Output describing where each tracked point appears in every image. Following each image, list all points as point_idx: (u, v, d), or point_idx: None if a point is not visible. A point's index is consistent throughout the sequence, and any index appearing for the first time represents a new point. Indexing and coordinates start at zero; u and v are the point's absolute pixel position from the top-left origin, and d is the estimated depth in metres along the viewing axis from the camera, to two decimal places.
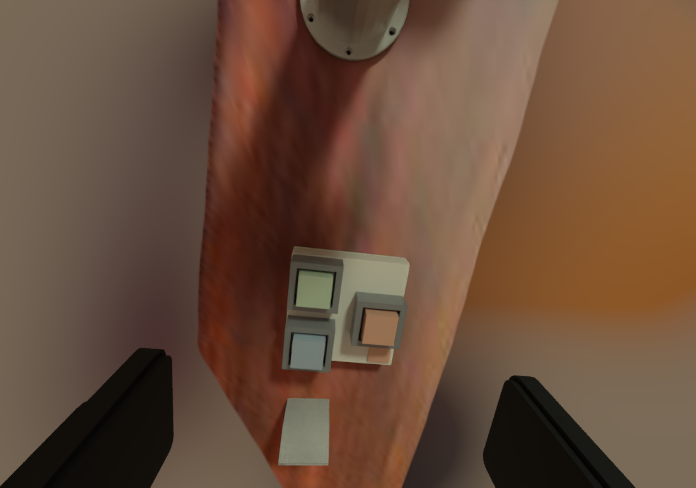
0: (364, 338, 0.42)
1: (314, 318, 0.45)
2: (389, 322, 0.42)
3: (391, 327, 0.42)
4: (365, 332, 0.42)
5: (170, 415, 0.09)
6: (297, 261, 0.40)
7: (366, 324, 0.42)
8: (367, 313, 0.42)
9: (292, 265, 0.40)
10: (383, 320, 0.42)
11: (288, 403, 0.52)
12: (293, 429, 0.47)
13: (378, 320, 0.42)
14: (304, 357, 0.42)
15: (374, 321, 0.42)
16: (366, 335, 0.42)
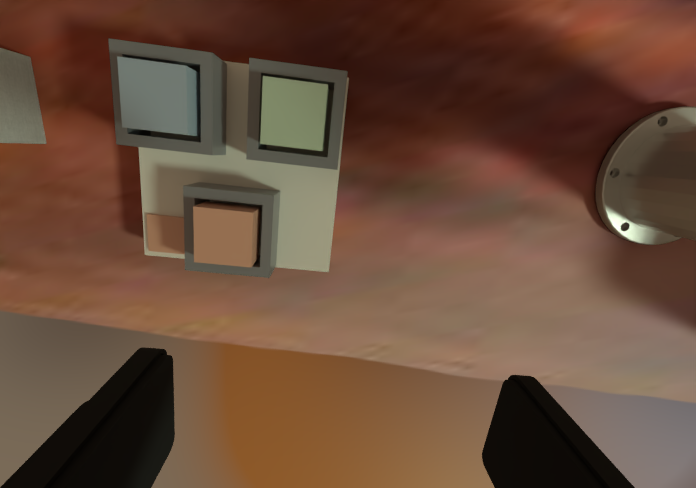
0: (204, 211, 0.23)
1: (225, 116, 0.25)
2: (240, 252, 0.24)
3: (231, 256, 0.24)
4: (217, 211, 0.23)
5: (171, 415, 0.09)
6: (345, 84, 0.23)
7: (233, 212, 0.23)
8: (254, 213, 0.24)
9: (339, 74, 0.22)
10: (243, 242, 0.24)
11: (17, 56, 0.25)
12: None
13: (243, 233, 0.24)
14: (146, 89, 0.21)
15: (240, 226, 0.23)
16: (211, 213, 0.23)
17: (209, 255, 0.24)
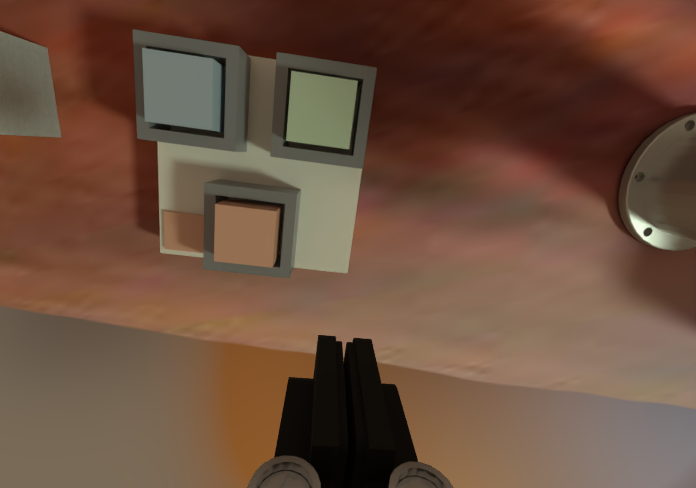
0: (226, 208, 0.22)
1: (247, 112, 0.24)
2: (262, 252, 0.23)
3: (252, 255, 0.23)
4: (239, 209, 0.23)
5: None
6: None
7: (256, 211, 0.23)
8: (277, 212, 0.23)
9: (369, 70, 0.21)
10: (265, 241, 0.23)
11: (34, 47, 0.25)
12: None
13: (265, 232, 0.23)
14: (171, 82, 0.20)
15: (263, 225, 0.23)
16: (233, 211, 0.23)
17: (230, 254, 0.23)
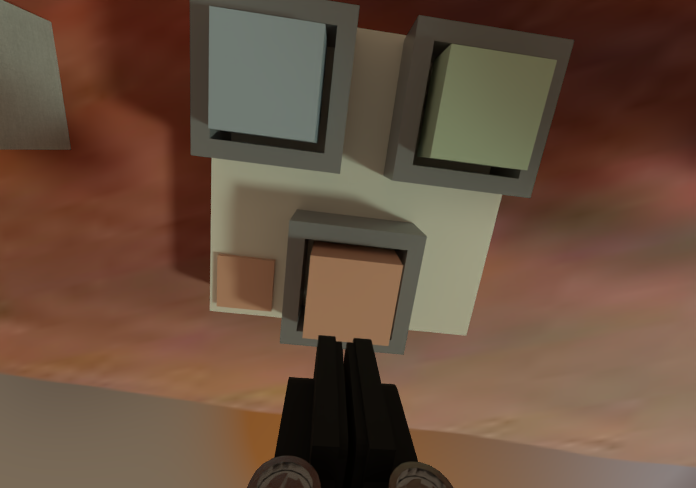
0: (328, 262, 0.15)
1: None
2: (375, 324, 0.15)
3: (360, 330, 0.16)
4: (347, 263, 0.15)
5: None
6: None
7: (372, 265, 0.15)
8: None
9: (561, 44, 0.13)
10: (382, 309, 0.15)
11: (33, 19, 0.17)
12: None
13: (383, 296, 0.15)
14: (254, 64, 0.12)
15: (380, 286, 0.15)
16: (338, 266, 0.15)
17: (327, 328, 0.15)
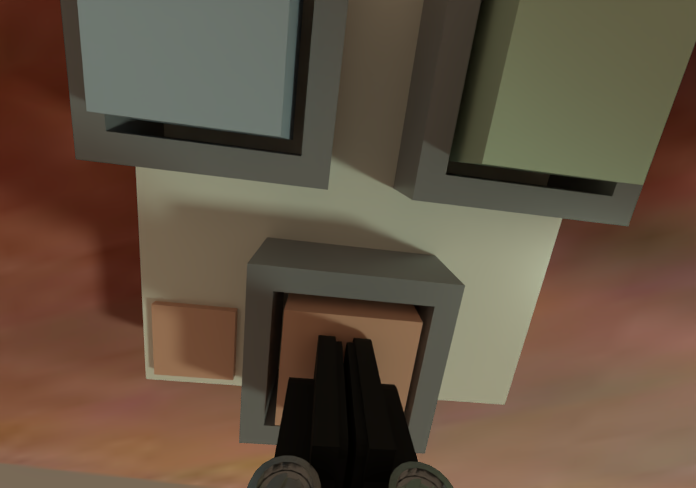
0: (310, 319, 0.10)
1: (338, 93, 0.11)
2: None
3: None
4: (339, 321, 0.10)
5: None
6: None
7: (377, 323, 0.10)
8: None
9: None
10: (391, 383, 0.10)
11: None
12: None
13: (393, 366, 0.10)
14: None
15: (389, 352, 0.10)
16: (325, 325, 0.10)
17: None
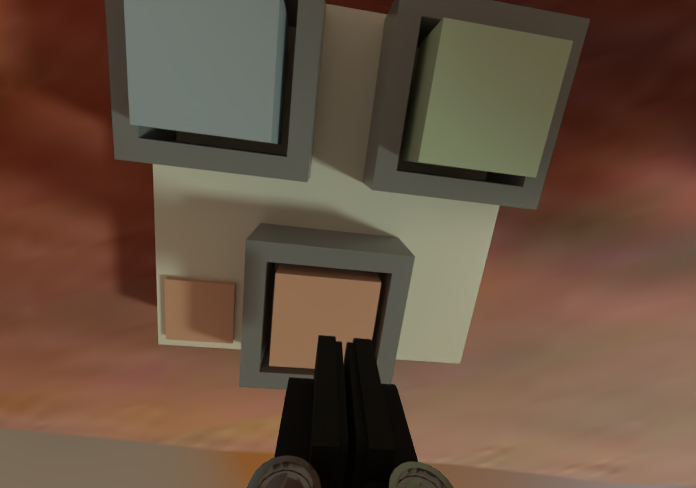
0: (296, 280, 0.13)
1: (316, 107, 0.14)
2: None
3: None
4: (317, 281, 0.13)
5: None
6: None
7: (346, 283, 0.13)
8: None
9: (574, 24, 0.11)
10: (359, 331, 0.14)
11: None
12: None
13: (359, 317, 0.13)
14: (188, 40, 0.09)
15: (356, 306, 0.13)
16: (307, 285, 0.13)
17: (297, 354, 0.14)
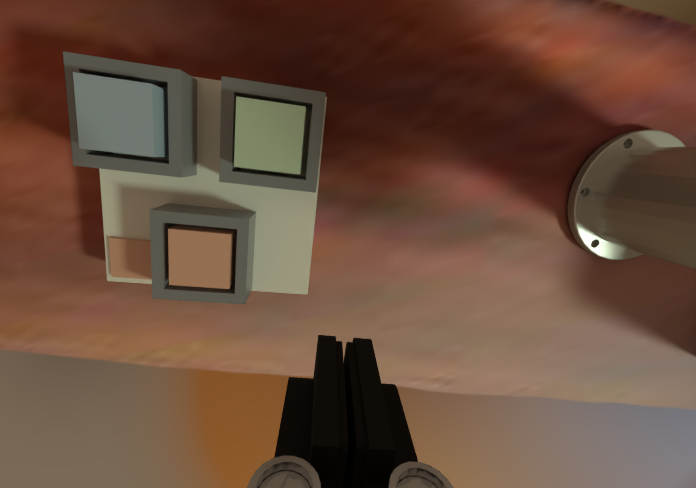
0: (180, 233, 0.23)
1: (195, 134, 0.24)
2: (218, 274, 0.24)
3: (208, 278, 0.24)
4: (193, 233, 0.23)
5: None
6: None
7: (210, 234, 0.23)
8: (232, 235, 0.23)
9: (317, 95, 0.21)
10: (221, 263, 0.23)
11: None
12: None
13: (220, 255, 0.23)
14: (107, 108, 0.19)
15: (218, 248, 0.23)
16: (187, 235, 0.23)
17: (185, 277, 0.23)
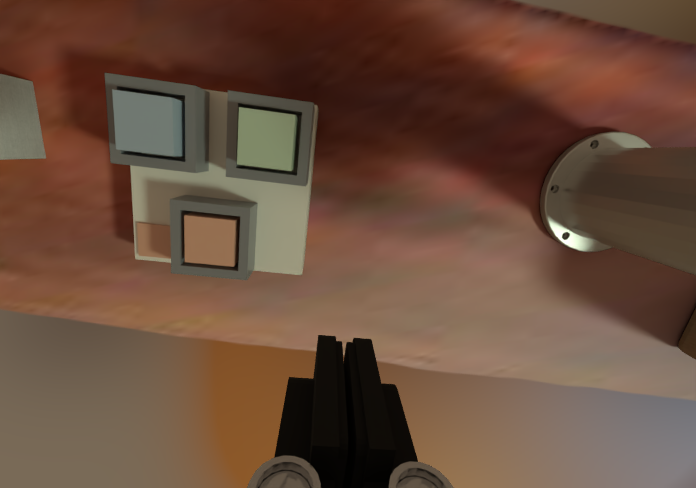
0: (194, 218, 0.27)
1: (207, 137, 0.28)
2: (224, 254, 0.28)
3: (216, 257, 0.28)
4: (204, 219, 0.28)
5: None
6: (312, 113, 0.26)
7: (218, 220, 0.28)
8: (236, 221, 0.28)
9: (306, 105, 0.26)
10: (227, 245, 0.28)
11: (21, 82, 0.28)
12: None
13: (226, 238, 0.28)
14: (137, 117, 0.24)
15: (224, 232, 0.28)
16: (199, 221, 0.28)
17: (197, 256, 0.28)
